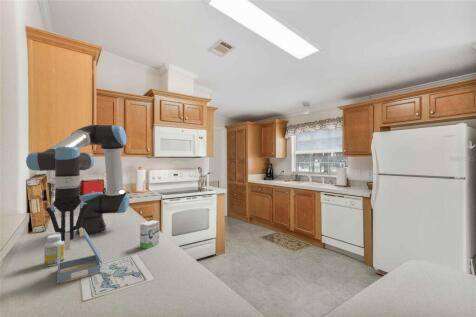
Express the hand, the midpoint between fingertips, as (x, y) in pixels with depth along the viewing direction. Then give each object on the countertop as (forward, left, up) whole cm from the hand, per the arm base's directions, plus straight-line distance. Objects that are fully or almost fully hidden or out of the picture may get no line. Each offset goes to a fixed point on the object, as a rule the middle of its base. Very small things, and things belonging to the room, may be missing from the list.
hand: (67, 248), depth 86 cm
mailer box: (0, +4, -10) cm, 11 cm away
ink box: (-11, +34, -10) cm, 37 cm away
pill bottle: (-15, -4, -10) cm, 19 cm away
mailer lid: (0, +7, -1) cm, 7 cm away
